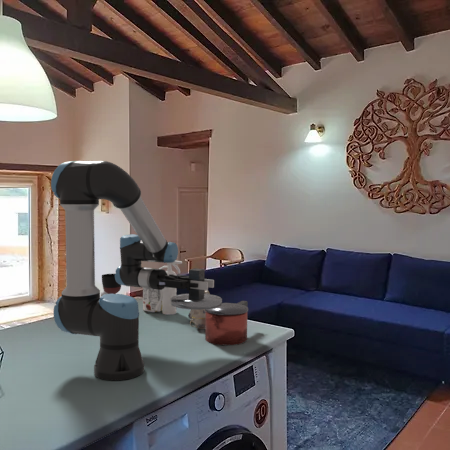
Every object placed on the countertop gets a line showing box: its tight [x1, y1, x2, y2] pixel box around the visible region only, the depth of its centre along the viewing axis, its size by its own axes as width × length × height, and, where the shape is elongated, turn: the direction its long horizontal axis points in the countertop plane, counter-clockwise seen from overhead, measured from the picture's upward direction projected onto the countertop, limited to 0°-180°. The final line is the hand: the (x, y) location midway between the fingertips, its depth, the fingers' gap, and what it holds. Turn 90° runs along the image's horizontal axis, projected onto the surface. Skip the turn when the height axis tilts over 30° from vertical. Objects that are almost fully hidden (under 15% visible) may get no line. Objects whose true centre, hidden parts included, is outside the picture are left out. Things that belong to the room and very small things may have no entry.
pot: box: [204, 300, 249, 346], centre depth 186 cm, size 27×17×12 cm, turn 155°
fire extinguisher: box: [154, 260, 183, 316], centre depth 220 cm, size 7×12×25 cm, turn 90°
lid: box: [171, 268, 223, 310], centre depth 167 cm, size 18×18×12 cm
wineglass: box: [101, 273, 122, 294], centre depth 206 cm, size 8×9×20 cm
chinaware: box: [188, 289, 211, 330], centre depth 205 cm, size 28×17×17 cm, turn 154°
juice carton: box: [142, 288, 162, 313], centre depth 225 cm, size 8×9×19 cm
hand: (210, 285), depth 165 cm, fingers closed on lid, 4 cm apart
